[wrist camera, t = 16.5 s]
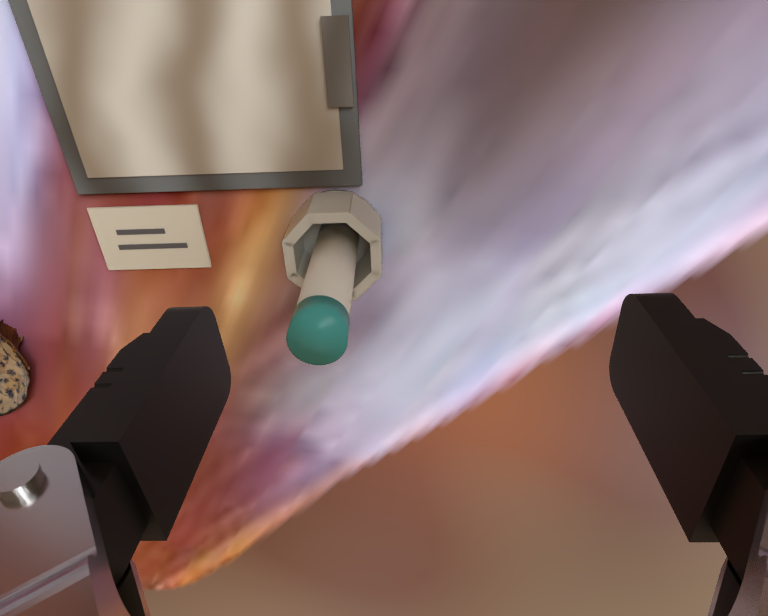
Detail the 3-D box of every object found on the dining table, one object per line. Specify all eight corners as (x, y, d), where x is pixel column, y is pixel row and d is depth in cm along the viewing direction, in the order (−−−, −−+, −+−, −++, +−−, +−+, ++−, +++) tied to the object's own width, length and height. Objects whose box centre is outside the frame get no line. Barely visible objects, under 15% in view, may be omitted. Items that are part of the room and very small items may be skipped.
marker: (358, 214, 37) (344, 314, 25) (361, 254, 38) (349, 364, 27) (315, 216, 37) (282, 316, 25) (320, 255, 38) (290, 365, 27)
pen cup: (380, 188, 36) (379, 211, 32) (383, 269, 40) (383, 299, 36) (289, 191, 36) (277, 214, 33) (300, 272, 40) (290, 301, 36)
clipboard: (346, -98, 28) (344, -102, 27) (362, 182, 36) (361, 188, 35) (-15, -82, 28) (-30, -85, 27) (82, 191, 37) (73, 197, 35)
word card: (88, 207, 37) (86, 208, 37) (197, 204, 37) (196, 205, 37) (109, 269, 40) (108, 270, 40) (212, 266, 40) (211, 267, 39)
